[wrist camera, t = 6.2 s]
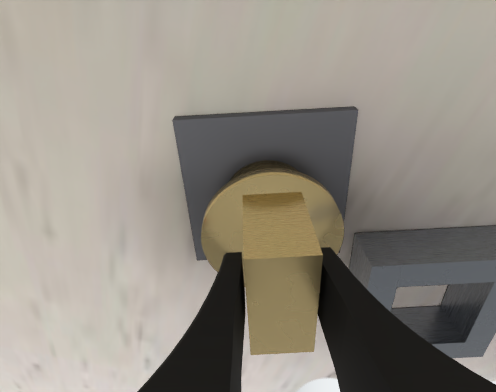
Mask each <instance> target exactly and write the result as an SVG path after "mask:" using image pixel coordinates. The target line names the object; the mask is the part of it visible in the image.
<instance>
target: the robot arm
mask: <svg viewBox="0 0 496 392" xmlns="http://www.w3.org/2000/svg"><path fill="white" fill-rule="evenodd" d="M321 251H322V254H323V261H322V271H321V282H320V292H319V303H318V316H319V320H320V323H321V326H322V329H323V332H324V336H325V339H326V342H327V345H328V348H329V351H330V354H331V358H332V361H333V364H334V367H335V371H336V375H337V379H338V383H339V388H340V392H496V385H495V384H493V383H492V382H490V381H488V380H486V379H485V378H483V377H481V376H480V375H478V374H476V373H474V372H473V371H471V370H469V369H468V368H466V367H465V366H463V365H461V364H460V363H458V362H457V361H455V360H454V359H452V358H451V357H449V356H447V355H446V354H445V353H443V352H442V351H440V350H439V349H437V348H436V347H435V346H433V345H432V344H430V343H429V342H428V341H426V340H425V339H423V338H422V337H421V336H419V335H418V334H417V333H415V332H414V331H413V330H411V329H410V328H409V327H408V326H406V325H405V324H404V323H403V322H402V321H400V320H399V319H398V318H397V317H396V316H395V315H393V314H392V313H391V312H390V311H389V310H388V309H387V308H386V307H385V306H384V305H382V304H381V303H380V302H379V301H378V300H377V299H376V298H375V297H374V296H373V295H372V294H371V293H370V292H369V291H368V290H367V289H366V288H365V287H364V285H363V284H362V283H361V282H360V281H359V280H358V279H357V278H356V277H355V276H354V275H353V273H352V272H351V271H350V270H349V269H348V268H347V267H346V265H345V264H344V263H343V262H342V261H341V259H340V258H339V257H338V256H337V254H336V253H335V252H334V251H333V249H332V248H330V247H323V248H321ZM244 325H245V289H244V276H243V263H242V252H231V253H225V254H224V256H223V260H222V263H221V266H220V269H219V271H218V274H217V276H216V279H215V281H214V283H213V285H212V287H211V289H210V292H209V294H208V296H207V298H206V299H205V301H204V303H203V305H202V307H201V308H200V310H199V312H198V314H197V316H196V317H195V319H194V320H193V322H192V324H191V325H190V327H189V328H188V330H187V331H186V333H185V334H184V336H183V337H182V338H181V340H180V341H179V343H178V344H177V345H176V347H175V348H174V349H173V351H172V352H171V353H170V355H169V356H168V357H167V358H166V360H165V361H164V362H163V363H162V364H161V366H160V367H159V368H158V369H157V370H156V372H155V373H154V374H153V375H152V376H151V377H150V379H149V380H148V381H147V382H146V383H145V384H144V385H143V386H142V387H141V388H140V390H139V391H138V392H241V369H242V354H243V340H244Z"/></svg>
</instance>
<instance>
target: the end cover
mask: <svg viewBox="0 0 496 392" xmlns="http://www.w3.org/2000/svg"><path fill="white" fill-rule="evenodd" d="M343 237H344V224H343V219H342V215H341V213H340V211H339V209H338V207H337V205H336V203H335V201H334V198H333V197H332V195H331V194H330V192H329V191H328V190H327V189H326V188H325V187H324V186H323V185H322V184H321V183H320V182H318V181H317V180H316V179H314V178H312V177H310V176H308V175H306V174H304V173H301V172H299V171H298V170H296V169H295V168H294V167H292V166H290V165H288V164H286V163H283V162H279V161H272V160H265V161H258V162H254V163H251V164H249V165H247V166H245V167H243V168H241V169H240V170H239V171H237V172H236V173H235V174H234V175H233V176H232V178H231V179H230V180H229V182H228V183H227V184H225V185H224V186H223V187H222V188H221V189H219V190H218V192H217V193H216V194H215V195H214V196H213V198H212V199H211V201H210V202H209V204H208V206H207V208H206V211H205V214H204V218H203V224H202V231H201V243H202V248H203V251H204V254H205V256H206V258H207V260H208V261H209V263H210V264H211V266H212V267H213V268H214V269H215V270H216V271H217V272H218V271H219V269H220V266H221V263H222V260H223V256H224V254H225V253H231V252H242V263H243V276H244V287H246V297H247V311H248V324H249V338H250V351H251V355H260V354H279V353H298V352H314V346H315V335H316V324H317V314H318V303H319V292H320V282H321V271H322V261H323V254H322V251H321V248H323V247H330V248H332V249H333V251H334V252H335V253H336V254H338V252H339V250H340V248H341V245H342V241H343Z"/></svg>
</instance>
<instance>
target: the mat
mask: <svg viewBox="0 0 496 392" xmlns="http://www.w3.org/2000/svg"><path fill="white" fill-rule="evenodd" d="M357 116H358V109H357V108H355V107H338V108H320V109H302V110H284V111H267V112H249V113H231V114H213V115H195V116H177V117H174V119H173V126H174V131H175V137H176V143H177V148H178V154H179V160H180V166H181V171H182V177H183V183H184V188H185V194H186V200H187V206H188V211H189V217H190V223H191V229H192V234H193V240H194V246H195V251H196V257H197V260H207V258H206V256H205V254H204V251H203V248H202V243H201V231H202V224H203V218H204V214H205V211H206V208H207V206H208V204H209V202H210V201H211V199H212V198H213V196H214V195H215V194H216V193H217V192H218V190H219V189H221V188H222V187H223V186H224V185H225V184H227V183H228V182H229V180H230V179H231V178H232V176H233V175H234V174H235V173H236V172H237V171H239V170H240V169H241V168H243V167H245V166H247V165H249V164H251V163H254V162H258V161H265V160H272V161H279V162H283V163H286V164H288V165H290V166H292V167H294V168H295V169H296V170H298V171H299V172H301V173H304V174H306V175H308V176H310V177H312V178H314V179H316V180H317V181H318V182H320V183H321V184H322V185H323V186H324V187H325V188H326V189H327V190H328V191H329V192H330V194H331V195H332V197H333V198H334V201H335V203H336V205H337V207H338V209H339V211H340V213H341V215H342V219H343V224H344V217H345V209H346V201H347V193H348V186H349V178H350V170H351V162H352V155H353V147H354V139H355V131H356V124H357ZM338 253H340V250H339V252H338Z"/></svg>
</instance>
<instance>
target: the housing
mask: <svg viewBox="0 0 496 392" xmlns="http://www.w3.org/2000/svg"><path fill="white" fill-rule="evenodd" d="M349 270H350V271H351V272H352V273H353V275H354V276H355V277H356V278H357V279H358V280H359V281H360V282H361V283H362V284H363V285H364V287H365V288H366V289H367V290H368V291H369V292H370V293H371V294H372V295H373V296H374V297H375V298H376V299H377V300H378V301H379V302H380V303H381V304H382V305H384V306H385V307H386V308H387V309H388V310H389V311H390V312H391V313H392V314H393V315H395V316H396V317H397V318H398V319H399V320H400V321H402V322H403V323H404V324H405V325H406V326H408V327H409V328H410V329H411V330H413V331H414V332H415V333H417V334H418V335H419V336H421V337H422V338H423V339H425V340H426V341H428V342H429V343H430V344H432V345H433V346H435V347H436V348H437V349H439V350H440V351H442V352H443V353H445V354H446V355H447V356H449V357H451V358H463V357H482V356H483V355H484V353H485V351H486V349H487V347H488V345H489V344H490V342H491V340H492V338H493V336H494V335H495V333H496V226H478V227H460V228H441V229H423V230H404V231H386V232H368V233H355V235H354V241H353V247H352V254H351V260H350V267H349ZM446 284H449V285H448V288H447V290H446V293H445V296H444V298H443V301H442V303H441V306H430V307H412V308H393V309H391V308H392V304H393V300H394V297H395V293H396V289H397V287H409V286H428V285H446Z"/></svg>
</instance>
